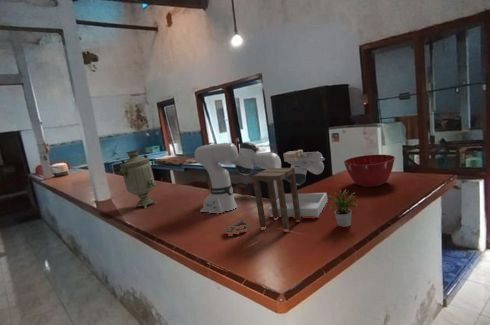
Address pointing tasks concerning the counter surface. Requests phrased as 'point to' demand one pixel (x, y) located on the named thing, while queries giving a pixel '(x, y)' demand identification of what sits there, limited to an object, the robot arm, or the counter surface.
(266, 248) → the counter surface
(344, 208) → the house plant
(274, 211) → the walnut stand
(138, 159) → the samovar
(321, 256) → the counter surface
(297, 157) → the mallet
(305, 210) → the grey tray
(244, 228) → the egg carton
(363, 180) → the mixing bowl
